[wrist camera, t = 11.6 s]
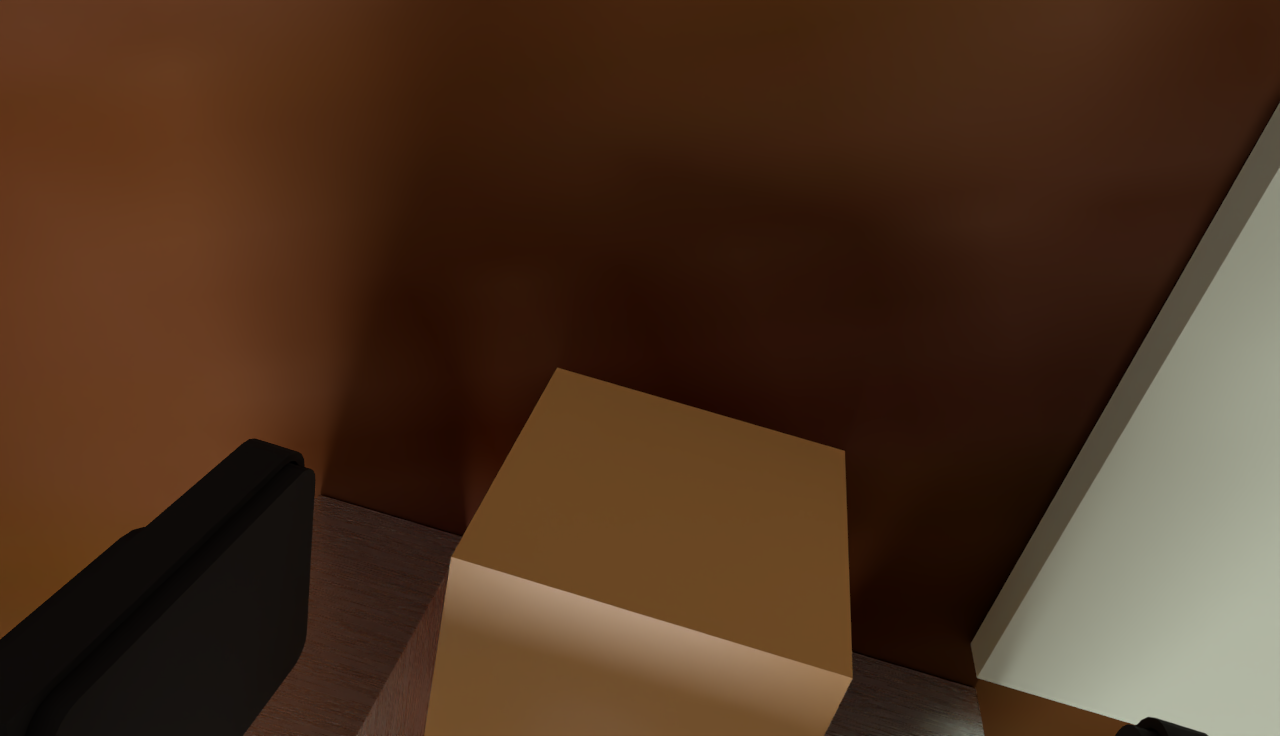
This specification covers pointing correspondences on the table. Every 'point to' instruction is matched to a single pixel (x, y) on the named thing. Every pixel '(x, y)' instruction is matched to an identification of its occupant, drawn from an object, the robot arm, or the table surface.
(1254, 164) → the mat
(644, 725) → the plug block
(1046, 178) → the table surface
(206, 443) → the table surface
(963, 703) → the housing
